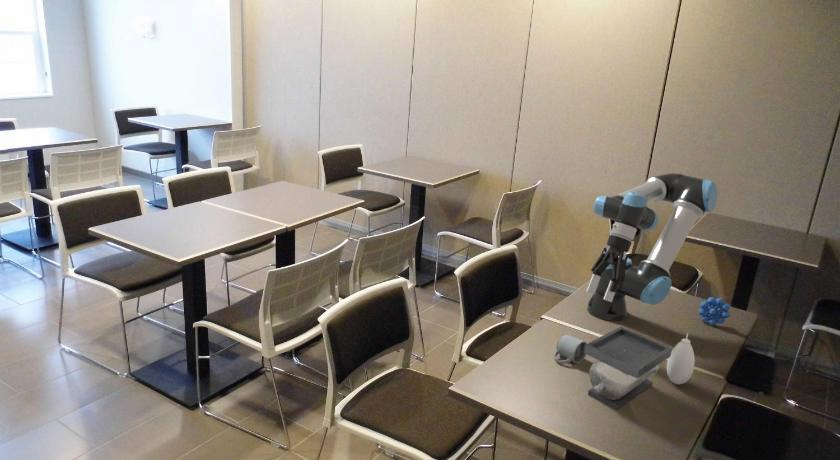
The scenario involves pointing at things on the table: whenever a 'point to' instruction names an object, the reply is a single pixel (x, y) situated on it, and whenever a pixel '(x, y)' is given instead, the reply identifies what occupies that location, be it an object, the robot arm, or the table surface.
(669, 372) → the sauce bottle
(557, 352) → the ceramic mug
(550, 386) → the table surface
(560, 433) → the table surface
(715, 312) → the grapes
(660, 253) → the robot arm
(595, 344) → the grey piece
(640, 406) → the table surface
